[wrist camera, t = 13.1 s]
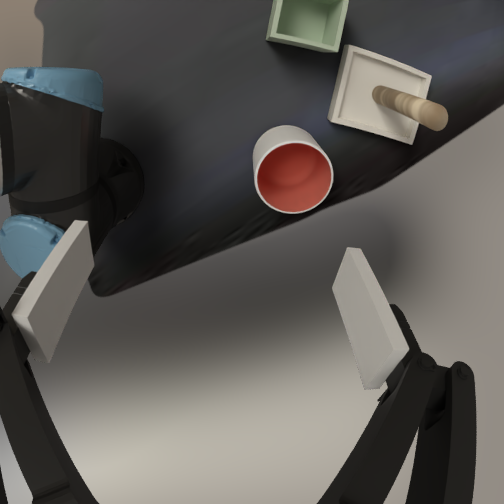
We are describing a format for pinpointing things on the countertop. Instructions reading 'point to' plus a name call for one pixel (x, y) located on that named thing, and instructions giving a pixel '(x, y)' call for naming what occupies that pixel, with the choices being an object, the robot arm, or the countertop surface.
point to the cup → (291, 170)
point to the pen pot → (308, 23)
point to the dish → (360, 93)
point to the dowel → (412, 107)
